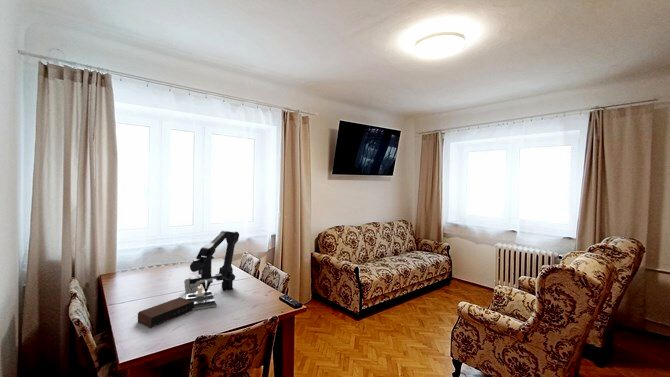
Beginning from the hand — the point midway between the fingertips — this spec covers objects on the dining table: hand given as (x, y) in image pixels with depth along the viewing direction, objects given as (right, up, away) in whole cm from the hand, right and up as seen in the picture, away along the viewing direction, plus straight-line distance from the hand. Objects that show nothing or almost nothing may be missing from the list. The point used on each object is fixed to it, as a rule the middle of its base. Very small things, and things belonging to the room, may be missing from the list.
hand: (206, 292), depth 177 cm
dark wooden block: (-11, -6, -23) cm, 26 cm away
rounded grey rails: (+3, -5, -12) cm, 13 cm away
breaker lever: (-3, -2, -1) cm, 4 cm away
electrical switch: (-15, -4, +13) cm, 20 cm away
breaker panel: (-3, -5, -1) cm, 6 cm away
